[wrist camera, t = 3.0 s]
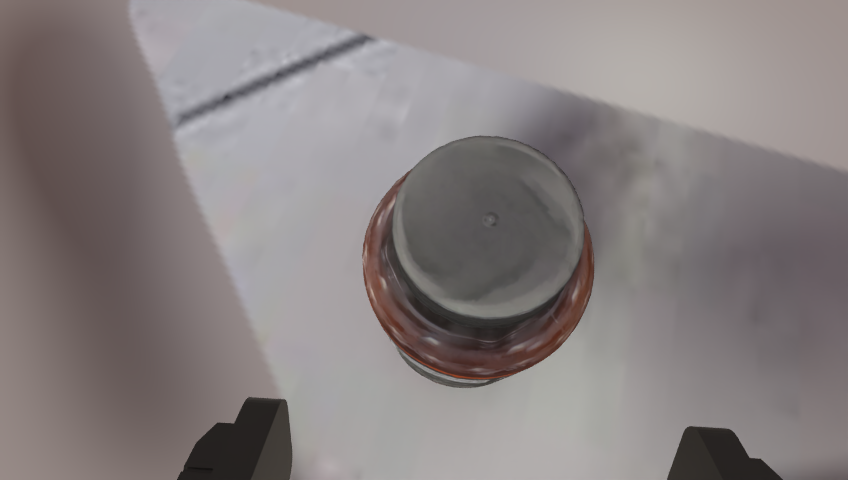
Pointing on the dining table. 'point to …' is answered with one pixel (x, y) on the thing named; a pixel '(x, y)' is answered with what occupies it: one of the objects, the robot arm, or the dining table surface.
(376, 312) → the supplement bottle
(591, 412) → the dining table surface
